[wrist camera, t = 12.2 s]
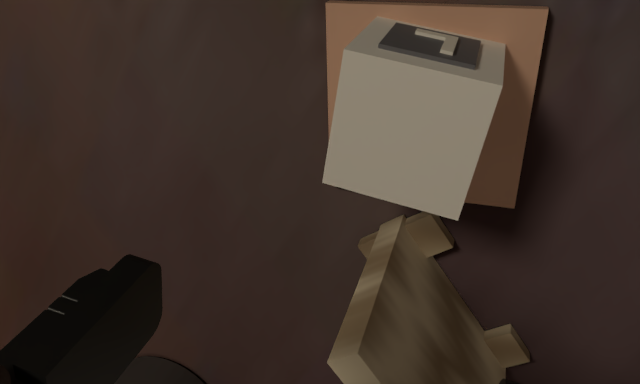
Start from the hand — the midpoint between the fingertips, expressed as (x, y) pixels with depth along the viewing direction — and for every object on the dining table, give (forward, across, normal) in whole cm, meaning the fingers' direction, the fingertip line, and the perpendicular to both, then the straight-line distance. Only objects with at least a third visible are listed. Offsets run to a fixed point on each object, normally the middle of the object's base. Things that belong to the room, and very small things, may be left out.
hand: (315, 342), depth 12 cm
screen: (+18, -4, +12) cm, 22 cm away
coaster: (+18, 0, +1) cm, 18 cm away
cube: (+17, 0, 0) cm, 17 cm away
